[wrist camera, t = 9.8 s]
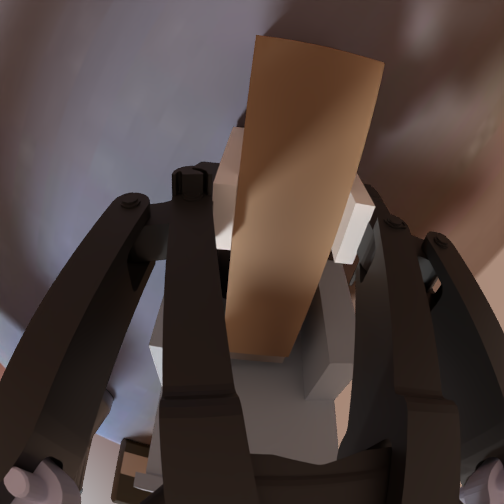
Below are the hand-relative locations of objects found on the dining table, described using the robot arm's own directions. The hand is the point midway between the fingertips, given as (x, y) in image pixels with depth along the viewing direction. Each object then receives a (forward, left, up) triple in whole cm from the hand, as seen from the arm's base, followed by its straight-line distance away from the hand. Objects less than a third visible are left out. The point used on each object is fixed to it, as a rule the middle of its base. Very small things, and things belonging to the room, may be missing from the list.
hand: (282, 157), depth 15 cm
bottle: (-21, -81, -1) cm, 84 cm away
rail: (0, -2, 0) cm, 2 cm away
